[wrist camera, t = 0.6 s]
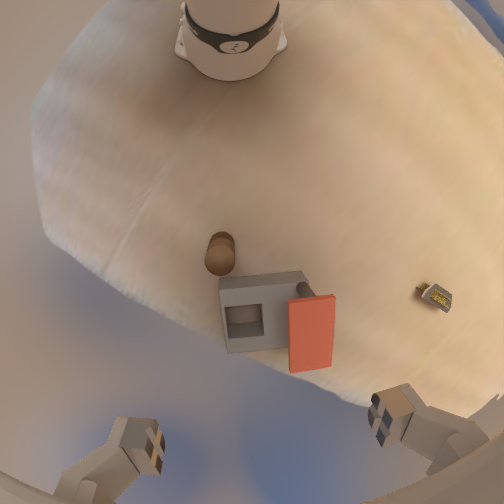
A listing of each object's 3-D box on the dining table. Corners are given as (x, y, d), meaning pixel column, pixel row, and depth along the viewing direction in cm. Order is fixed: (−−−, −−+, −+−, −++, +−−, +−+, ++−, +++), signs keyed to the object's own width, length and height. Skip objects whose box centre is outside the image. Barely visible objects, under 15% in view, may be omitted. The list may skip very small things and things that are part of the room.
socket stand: (219, 278, 48) (216, 310, 37) (312, 269, 49) (335, 297, 38) (227, 338, 52) (227, 380, 40) (311, 328, 52) (331, 366, 41)
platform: (415, 247, 50) (435, 256, 44) (459, 280, 54) (476, 290, 47) (387, 298, 53) (403, 312, 46) (434, 324, 56) (449, 336, 50)
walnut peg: (208, 232, 46) (202, 247, 37) (233, 230, 47) (233, 244, 37) (211, 256, 47) (206, 277, 38) (235, 254, 48) (236, 274, 38)
